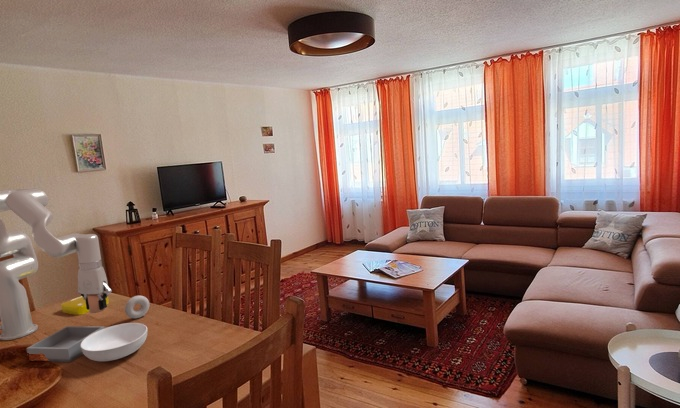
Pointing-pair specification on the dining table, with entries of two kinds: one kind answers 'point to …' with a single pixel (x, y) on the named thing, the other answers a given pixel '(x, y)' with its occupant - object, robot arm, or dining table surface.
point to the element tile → (76, 306)
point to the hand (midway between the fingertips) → (96, 307)
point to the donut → (139, 313)
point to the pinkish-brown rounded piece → (94, 303)
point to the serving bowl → (114, 342)
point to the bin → (63, 343)
